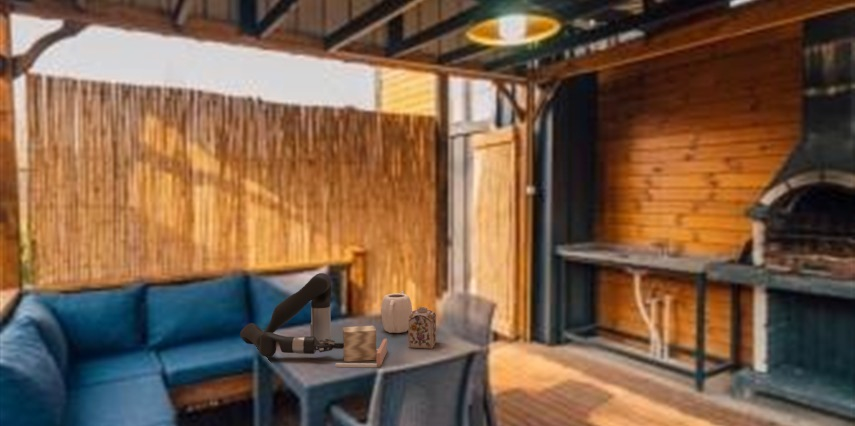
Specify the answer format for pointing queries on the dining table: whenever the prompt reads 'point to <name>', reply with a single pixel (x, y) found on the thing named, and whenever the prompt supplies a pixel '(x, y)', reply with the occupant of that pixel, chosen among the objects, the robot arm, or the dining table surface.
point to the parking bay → (379, 356)
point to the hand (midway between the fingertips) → (343, 345)
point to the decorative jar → (422, 328)
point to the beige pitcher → (396, 312)
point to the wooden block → (359, 343)
